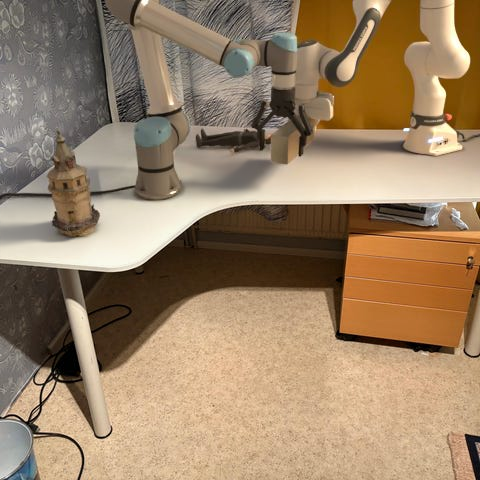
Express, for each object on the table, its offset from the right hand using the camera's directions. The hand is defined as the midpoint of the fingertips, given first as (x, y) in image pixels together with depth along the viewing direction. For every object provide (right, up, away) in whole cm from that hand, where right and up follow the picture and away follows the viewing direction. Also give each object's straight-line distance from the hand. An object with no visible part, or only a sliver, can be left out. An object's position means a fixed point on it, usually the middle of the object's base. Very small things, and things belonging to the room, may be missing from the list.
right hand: (303, 129), depth 192 cm
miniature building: (-70, -36, -36) cm, 87 cm away
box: (-4, -8, -6) cm, 11 cm away
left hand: (-9, -11, -16) cm, 22 cm away
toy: (-25, -2, +24) cm, 34 cm away
